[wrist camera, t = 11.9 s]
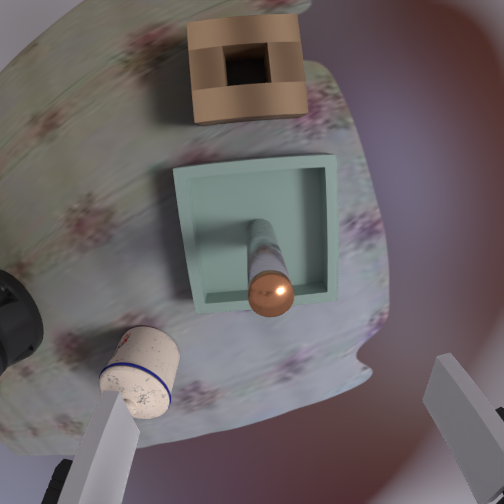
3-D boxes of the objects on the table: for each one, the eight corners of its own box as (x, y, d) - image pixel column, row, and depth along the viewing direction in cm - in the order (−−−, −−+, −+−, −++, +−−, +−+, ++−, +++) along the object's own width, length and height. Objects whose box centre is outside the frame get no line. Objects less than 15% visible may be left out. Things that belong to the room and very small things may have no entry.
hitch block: (203, 126, 31) (194, 122, 26) (195, 41, 28) (186, 22, 22) (297, 118, 31) (308, 113, 26) (288, 33, 28) (297, 14, 22)
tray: (199, 299, 38) (195, 313, 35) (179, 166, 33) (172, 168, 30) (330, 286, 38) (337, 300, 35) (327, 153, 33) (336, 154, 29)
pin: (247, 246, 35) (250, 319, 21) (244, 220, 34) (245, 278, 20) (274, 243, 35) (294, 314, 21) (272, 217, 34) (293, 274, 20)
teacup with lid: (121, 315, 39) (88, 370, 28) (186, 334, 40) (171, 396, 29) (117, 377, 43) (93, 432, 32) (174, 393, 44) (160, 453, 33)
